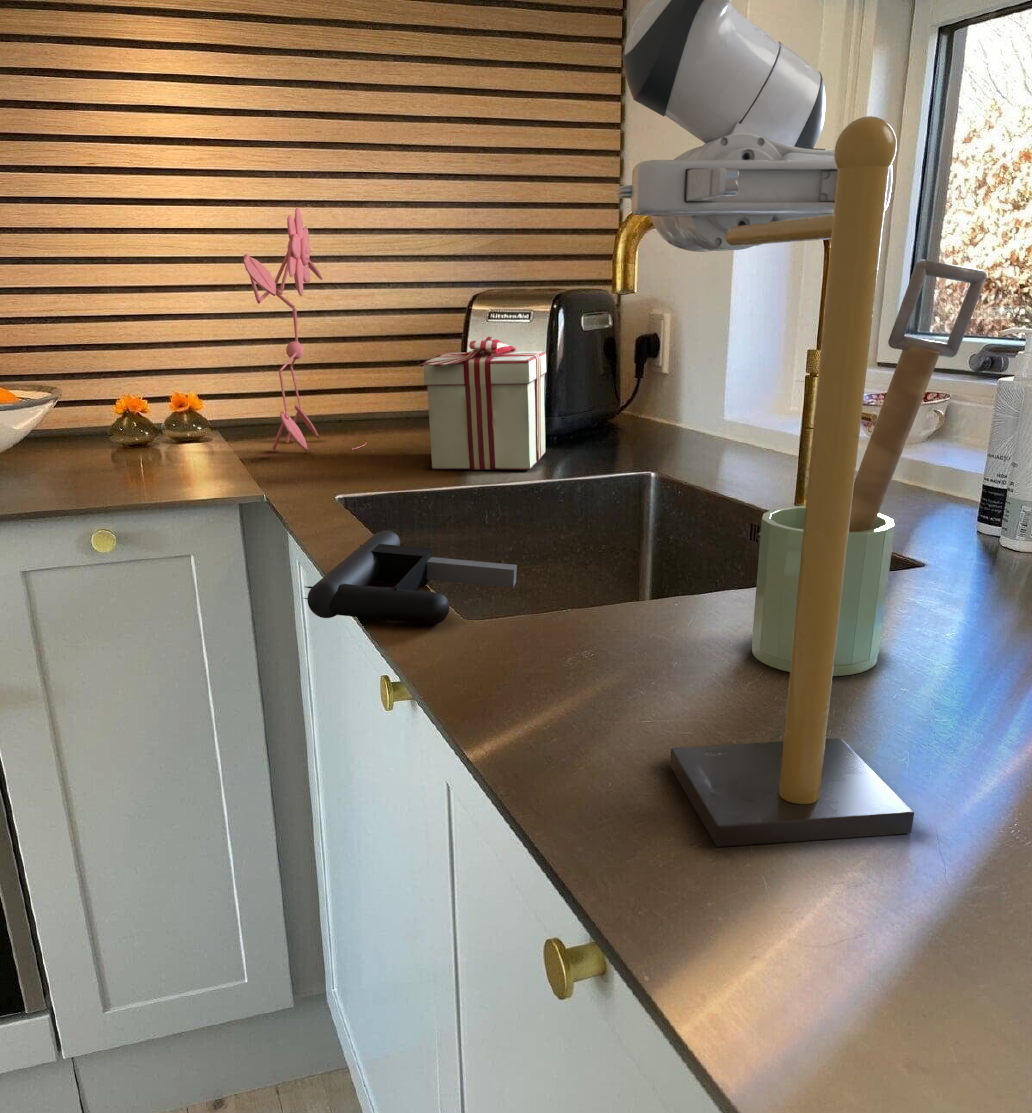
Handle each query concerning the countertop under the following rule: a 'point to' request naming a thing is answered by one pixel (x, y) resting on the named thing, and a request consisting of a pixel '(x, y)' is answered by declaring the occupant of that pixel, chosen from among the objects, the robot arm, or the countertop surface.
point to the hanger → (816, 552)
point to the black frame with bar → (398, 582)
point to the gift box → (486, 407)
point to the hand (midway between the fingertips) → (792, 181)
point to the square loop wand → (907, 389)
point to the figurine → (300, 270)
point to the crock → (857, 601)
